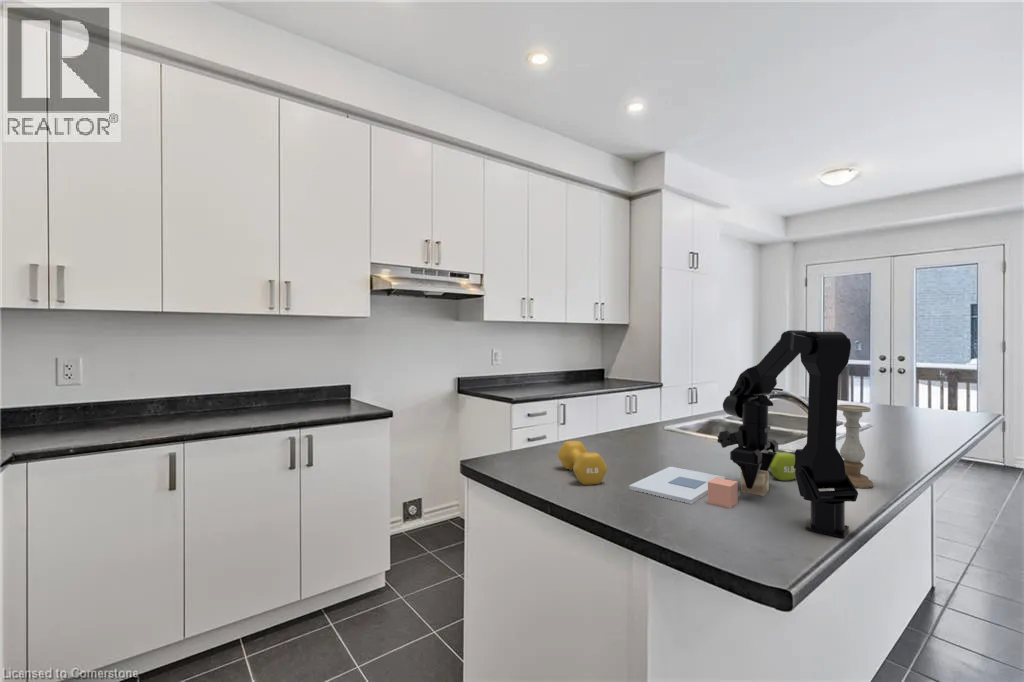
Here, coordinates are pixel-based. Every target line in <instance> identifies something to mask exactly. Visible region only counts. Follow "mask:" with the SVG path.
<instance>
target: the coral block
mask: <svg viewBox="0 0 1024 682" xmlns="http://www.w3.org/2000/svg"><path fill="white" fill-rule="evenodd" d="M738 483H739V482H738V481H737V480H730V479H728V478H727V479H722V478H716V477H715V478H714V479H712V480H710V481H709V482H708V494H707V503H708V504H710V505H714V504H715V505H714V506H718V505H719V507H723V508H727V509H728V508H729V509H731V508H733V507H734V506H735V505H736V504H737V502H739V500H738V499H739V498H738V495H739V494H738V488H739V487H738V485H739V484H738Z"/></svg>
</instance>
